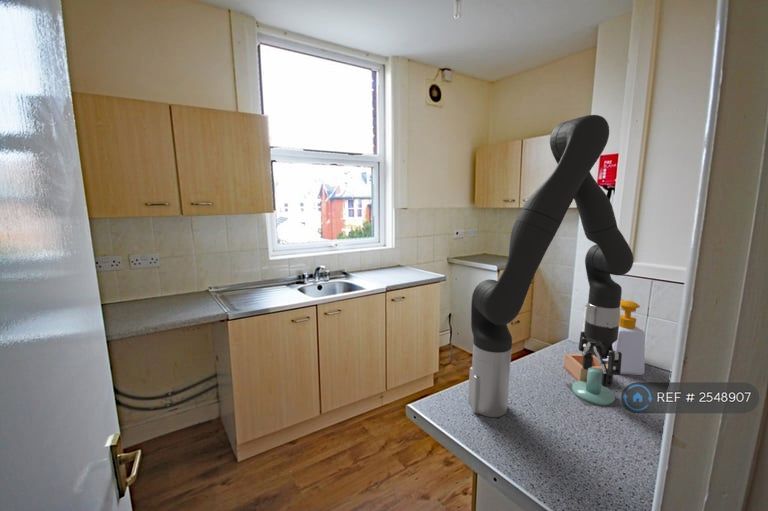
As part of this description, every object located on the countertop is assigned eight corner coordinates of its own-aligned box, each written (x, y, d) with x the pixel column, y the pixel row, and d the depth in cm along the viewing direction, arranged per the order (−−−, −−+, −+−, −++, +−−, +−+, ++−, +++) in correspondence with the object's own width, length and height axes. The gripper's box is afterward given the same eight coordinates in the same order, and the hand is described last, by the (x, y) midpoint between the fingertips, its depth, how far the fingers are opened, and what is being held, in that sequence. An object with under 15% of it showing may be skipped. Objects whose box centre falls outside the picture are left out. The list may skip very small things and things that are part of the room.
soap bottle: (621, 355, 116) (629, 293, 112) (646, 377, 102) (656, 306, 98) (591, 353, 117) (598, 292, 113) (611, 374, 103) (620, 305, 99)
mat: (584, 406, 88) (584, 405, 88) (564, 385, 98) (564, 383, 98) (623, 406, 88) (623, 405, 88) (599, 385, 98) (599, 384, 98)
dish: (579, 384, 98) (581, 368, 97) (563, 368, 107) (564, 353, 106) (610, 384, 98) (612, 368, 97) (592, 368, 107) (593, 353, 106)
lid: (584, 405, 88) (587, 380, 87) (564, 384, 98) (567, 361, 97) (623, 405, 88) (626, 380, 87) (599, 384, 98) (602, 361, 96)
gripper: (573, 311, 96) (568, 364, 99) (604, 331, 82) (598, 392, 85) (599, 311, 96) (594, 363, 99) (636, 331, 82) (628, 392, 85)
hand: (596, 377), depth 92 cm, fingers open, 8 cm apart
